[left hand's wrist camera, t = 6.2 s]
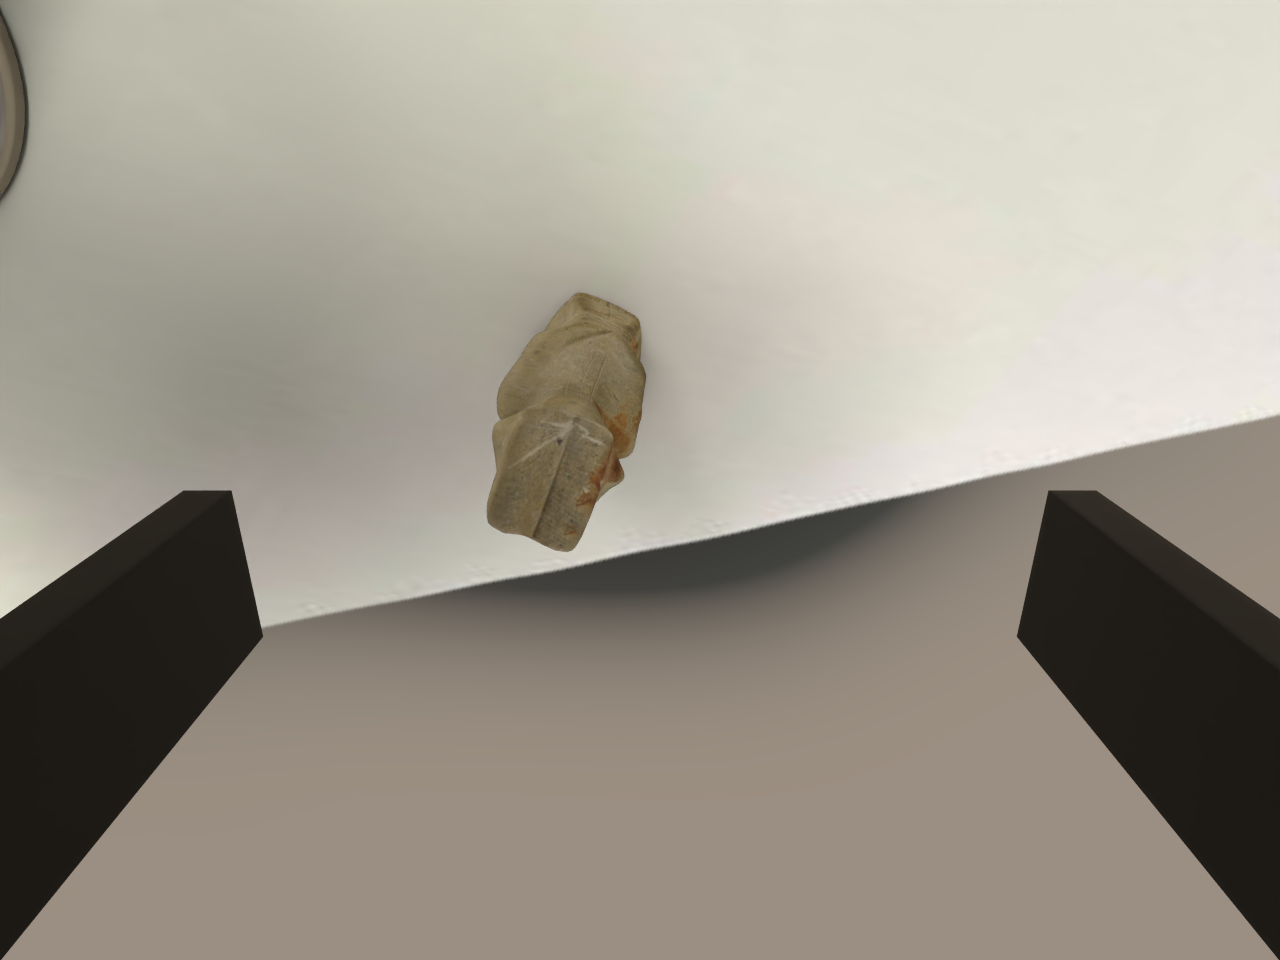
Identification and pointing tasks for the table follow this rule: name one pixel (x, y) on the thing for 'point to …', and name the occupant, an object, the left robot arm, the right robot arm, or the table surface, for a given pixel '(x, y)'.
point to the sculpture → (566, 422)
